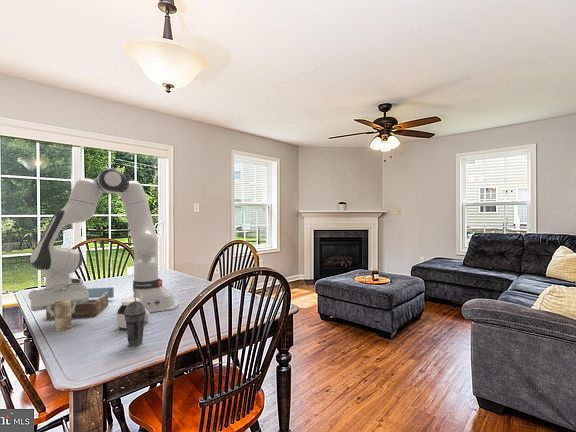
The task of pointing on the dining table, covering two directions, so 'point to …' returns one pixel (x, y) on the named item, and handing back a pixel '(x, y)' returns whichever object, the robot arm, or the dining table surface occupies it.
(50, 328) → the dining table surface
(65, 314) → the beech block
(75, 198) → the robot arm
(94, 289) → the tray
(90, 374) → the dining table surface
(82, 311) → the caddy
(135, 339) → the beverage cup
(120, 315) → the spread jar
